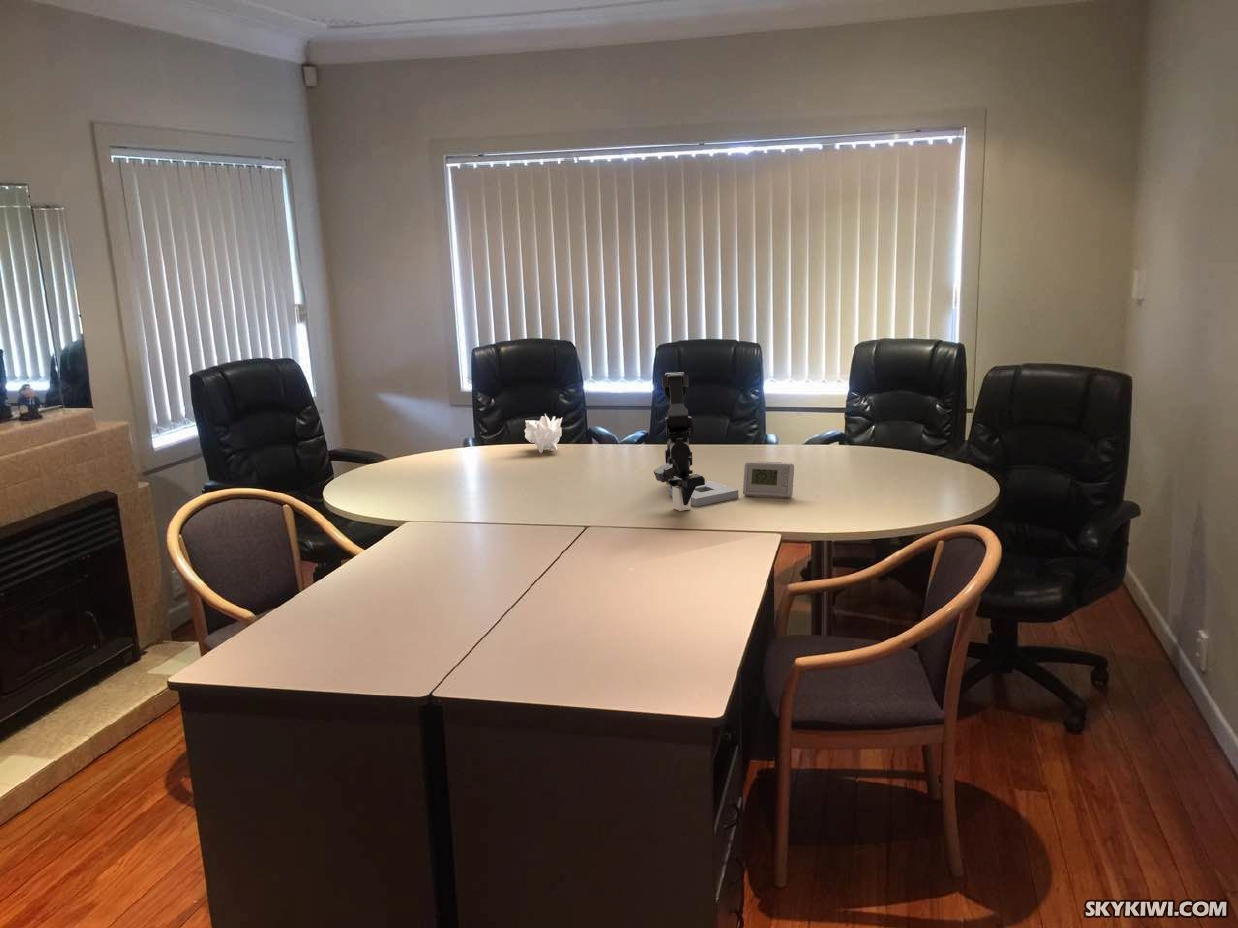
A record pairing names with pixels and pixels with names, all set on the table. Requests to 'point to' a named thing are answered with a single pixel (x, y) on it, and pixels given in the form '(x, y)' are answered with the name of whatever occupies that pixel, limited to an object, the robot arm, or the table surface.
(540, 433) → the crumpled paper
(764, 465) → the digital clock
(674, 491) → the plug
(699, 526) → the table surface
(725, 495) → the socket plate
